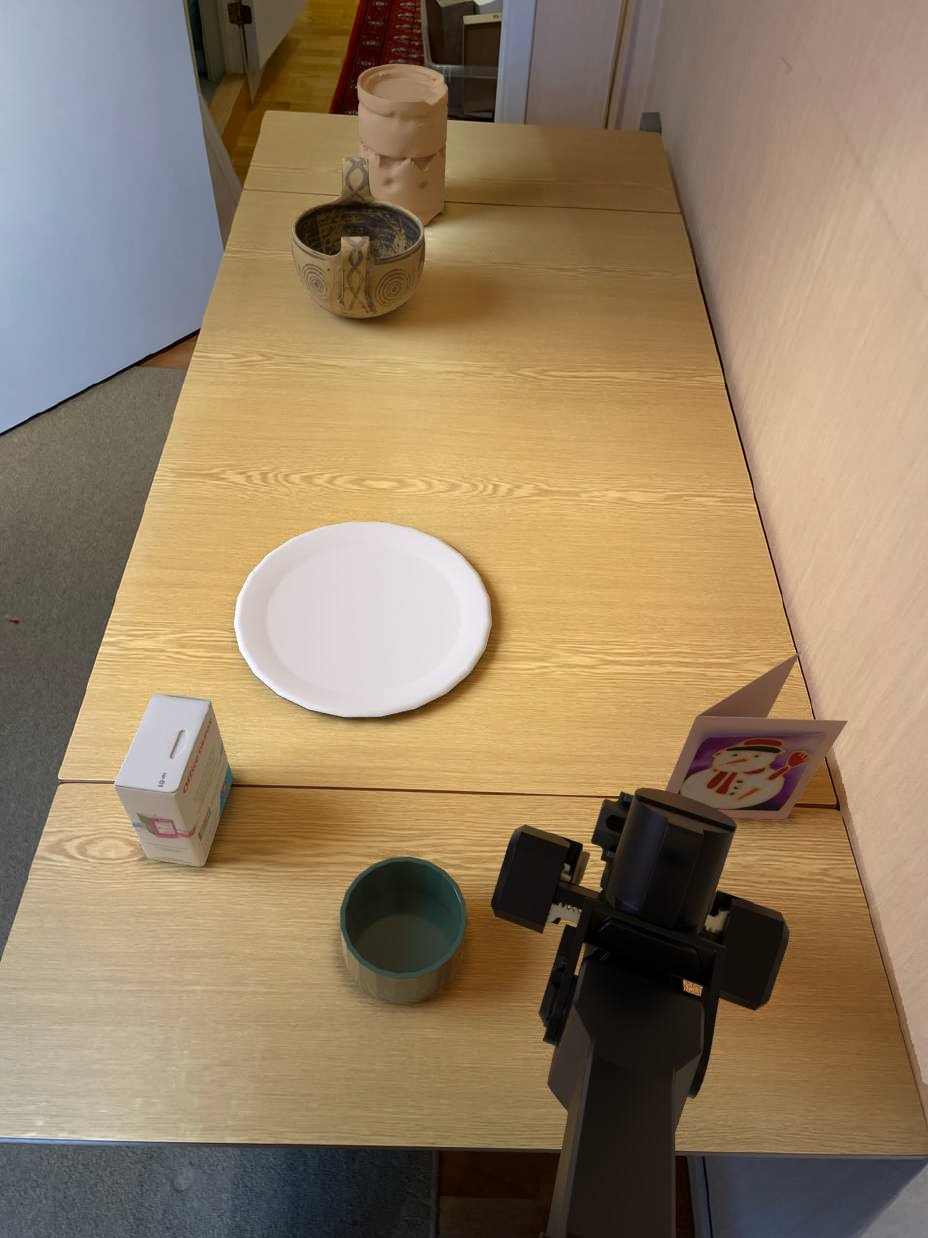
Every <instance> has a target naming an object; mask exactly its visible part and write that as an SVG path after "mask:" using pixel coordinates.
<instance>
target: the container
mask: <svg viewBox="0 0 928 1238" xmlns="http://www.w3.org/2000/svg"><path fill="white" fill-rule="evenodd" d="M356 85H357V86H356V87H357V98H358V101H359V103H358V107H357V114H358V115H357V117H358V121H357V122H358V136H359V139H360V144H359V149H358V155H359V156H358V157H361V158H367V159H368V160H369V185H370V191H371V194H372V195H373V196H374V197H375V198H376V199H378V200H382V201H387V202H391V203H394V204H396V205H399V206H402V207H404V208H405V209H407V210H409V211H411V212H412V213H413V214H415V215H416V216H417V217H418V218H419V219H420V220H421V222H422V224H423V226H424V227H425V226H427V225H429V222H430V221H432V220H433V218H435V216H438V214H443V213H444V210H445V209H444V208H445V198H444V195H445V189H446V188H445V186H446V162H447V161H446V160H447V139H448V113H449V109H448V108H449V107H448V102H449V88H448V85H447V84H446V82H445V78H444V75H443V74H442V73H440V72H439V71H437V70H435V69H431V68H429V67H425V66H422V65H417V64H407V63H389V64H387V63H386V64H383V65H379V66H372V67H370V68H367V69H365V71H362V72H361V73H360V74H359V75H358V78H357V83H356Z"/></svg>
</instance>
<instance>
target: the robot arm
mask: <svg viewBox="0 0 928 1238" xmlns="http://www.w3.org/2000/svg"><path fill="white" fill-rule="evenodd" d="M618 796H619V797H618V799H617V800H611V799H608V798H604V799H603V800H602V803H601V806H600V810H599V813H598V816H597V819H596V823H595V826H594V829H593V833H592V836H591V839H590V843H591V844H592V845H594V846H597V847H600V848H601V850H602V852H601V856H600V861H601V862H605V865H604V868H603V871H602V875H601V878H600V881H599V887H600V888H601V891H600V892H599V891H596V890H594V889H591V888H589V887H585V886H583V885H580V884H581V883H582V881H583V878H584V875H585V873H586V870H587V866H588V864H589V860H590V858H591V857H590V856H591V852H589V851H586V850H584V848H583V847H584V843H582V842H579V841H577V840H574V839H571V838H568V837H565V836H562V835H558V834H556V833H553V832H548V831H546V830H542V829H540V828H537V827H534V826H530V825H528V824H523V825H521V826H519V827H516V828H514V830H513V832H512V834H511V836H510V838H509V842H508V845H507V847H506V850H505V853H504V857H503V861H502V863H501V867H500V870H499V874H498V878H497V879H496V880H497V881H496V883H495V887H494V890H493V894H492V897H491V900H490V908H491V910H492V912H493V915H494V917H495V918H498V919H500V920H503V921H505V922H508V923H511V924H513V925H515V926H516V925H517V926H520V927H522V928H525V929H528V930H531V931H533V932H536V933H539V934H542V935H543V934H544V931H545V927H546V925H547V924H554V925H556V926H558V925H559V924H560V922H561V920H562V919H563V920H566V921H568V922H571V923H574V924H576V926H574V925H571V924H568V923H565V925H564V928H563V930H562V934H561V937H560V941H559V943H558V947H557V951H556V954H555V957H554V961H553V964H552V967H551V970H550V974H549V976H548V980H547V984H546V987H545V990H544V994H543V995H542V996H543V997H542V1000H541V1004H540V1006H539V1009H538V1016H539V1017H540V1020H541V1022H542V1024H543V1025H542V1027H543V1028H545V1031H544V1034H543V1039H542V1042H544V1043H547V1044H549V1045H552V1046H554V1049H553V1053H552V1057H551V1063H550V1067H549V1071H548V1077H547V1082H546V1083H547V1084H546V1085H547V1087H548V1088H549V1091H551V1093H552V1094H553V1096H554V1097H555V1098H556V1099H557V1101H558V1103H560V1105H562V1107H563V1108H564V1109H565V1111H566V1112H567V1115H566V1123H565V1128H564V1133H563V1139H562V1144H561V1150H560V1155H559V1160H558V1165H557V1172H556V1176H555V1177H556V1178H555V1183H554V1188H553V1194H552V1199H551V1205H550V1209H549V1215H548V1219H547V1227H546V1230H545V1231H546V1232H545V1233H544V1232H543V1231H540V1233H539V1236H538V1238H677V1232H676V1231H677V1230H676V1229H677V1227H676V1225H677V1224H676V1223H677V1222H676V1220H677V1219H676V1218H677V1217H676V1216H677V1215H676V1213H677V1211H676V1208H677V1207H676V1206H677V1205H676V1200H677V1199H676V1198H677V1197H676V1132H677V1128H678V1126H679V1123H680V1120H681V1116H682V1114H683V1111H684V1108H685V1105H686V1102H687V1100H688V1098H689V1099H691V1100H695V1098H697V1096H698V1095H699V1092H700V1090H701V1088H702V1085H703V1082H704V1079H705V1076H706V1073H707V1070H708V1066H709V1062H710V1059H711V1052H712V1047H713V1040H714V1034H715V1027H716V1022H717V1015H718V1008H719V1002H720V1000H723V1001H726V1002H728V1003H731V1004H733V1005H736V1006H739V1007H742V1008H745V1009H748V1010H750V1011H754V1012H755V1011H757V1010H759V1009H761V1008H763V1007H764V1006H766V1005H767V1004H768V1002H769V1001H770V1000H771V996H772V993H773V991H774V990H773V989H774V987H775V985H776V981H777V978H778V975H779V973H780V969H781V966H782V963H783V961H784V957H785V954H786V953H787V952H786V951H787V948H788V947H789V946H788V945H789V942H790V941H789V940H790V933H791V931H790V928H789V926H788V923H787V921H786V919H785V917H784V915H783V913H782V912H781V911H778V910H775V909H772V908H770V907H766V906H764V905H761V904H758V903H755V902H753V901H751V900H747V899H745V898H742V897H739V896H737V895H733V894H730V893H727V892H724V891H721V890H719V889H718V886H719V883H720V879H721V877H722V873H723V870H724V867H725V864H726V862H727V858H728V855H729V852H730V848H731V845H732V843H733V840H734V837H735V834H736V830H737V828H738V825H737V823H736V821H735V820H734V819H733V818H730V817H729V816H727V815H725V814H724V813H722V812H720V811H718V810H717V809H715V808H713V807H711V806H708V805H706V804H704V803H701V802H699V801H696V800H694V799H691V798H688V797H685V796H682V795H679V794H675V793H672V792H668V791H665V790H663V789H660V788H659V789H658V788H652V787H640V788H637V789H636V790H635V791H634V794H632V793H628V792H625V791H622V790H621V791H620V793H619V795H618ZM583 850H584V851H583ZM583 946H584V949H583V954H582V959H581V961H580V964H579V969H578V974H576V970H577V966H578V962H579V959H580V956H581V952H582V948H583ZM684 981H686V982H688V983H692V984H694V985H697V986H699V987H702V988H701V992H700V995H697V994H695V993H692V992H690V991H687V990H685V988H684V987H685V986H684V985H685V984H684Z"/></svg>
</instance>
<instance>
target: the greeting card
mask: <svg viewBox="0 0 928 1238" xmlns="http://www.w3.org/2000/svg"><path fill="white" fill-rule="evenodd" d="M801 652H802V650H800V651H798V652H797V653H795V654H793V655H791V656H790V657H788V658H787V659H785V660H783V661H782V662H780V663H779V664H777V665H776V666H774V667H773V668H771V669H769V670H768V671H766V672H764V673H763V674H761V675H760V676H757V677H756V678H755V679H753V680H752V681H750V682H748V683H747V684H745V685H743V686H742V687H740V688H739V689H737V690H735V691H734V692H732V693H731V694H729V695H727V696H726V697H724V698H723V699H721V700H720V701H718V702H717V703H715V704H713V705H711V706H710V707H709V708H707V709H705V710H704V711H702V712H700V713H699V714H697V715H696V716H695V718H694V721H693V722H692V726H691V727H690V730H689V733H688V735H687V737H686V740H685V742H684V743H683V744H684V745H683V747H682V749H681V751H680V754H679V756H678V759H677V761H676V764H675V766H674V768H673V770H672V773H671V776H670V778H669V781H668V782H667V784H666V788H665V790H664V791H668V792H672V793H675V794H679V795H682V796H685V797H688V798H691V799H694V800H696V801H699V802H701V803H704V804H706V805H708V806H711V807H713V808H715V809H717V810H718V811H720V812H722V813H724V814H725V815H727V816H729V817H730V818H731V819H762V820H763V819H765V820H769V819H770V820H787V818H788V817H789V816H790V814H791V812H792V811H793V809H794V808H795V806H796V804H797V803H798V801H799V800H800V798H801V796H802V795H803V793H804V792H805V790H806V788H807V787H808V785H809V784H810V782H811V781H812V779H813V777H814V776H815V774H816V773H817V771H818V769H819V768H820V766H821V765H822V763H823V761H824V760H825V758H826V756H827V755H828V753H829V752H830V750H831V749H832V748H833V745H835V742H836V741H837V739H838V738H839V736H840V734H841V733H842V732H843V729H844V728H845V726H847V723H848V722H849V720H843V719H842V720H841V719H812V718H807V719H806V718H776V717H775V718H773V717H770V718H769V717H768V716H769V714H770V712H771V710H772V708H773V707H774V704H775V703H776V701H777V699H778V697H779V695H780V693H781V691H782V689H783V688H784V686H785V683H786V681H787V679H788V678H789V675H790V673H791V672H792V670H793V668H794V667H795V664H796V663H797V660H798V658H799V657H800V654H801Z"/></svg>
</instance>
